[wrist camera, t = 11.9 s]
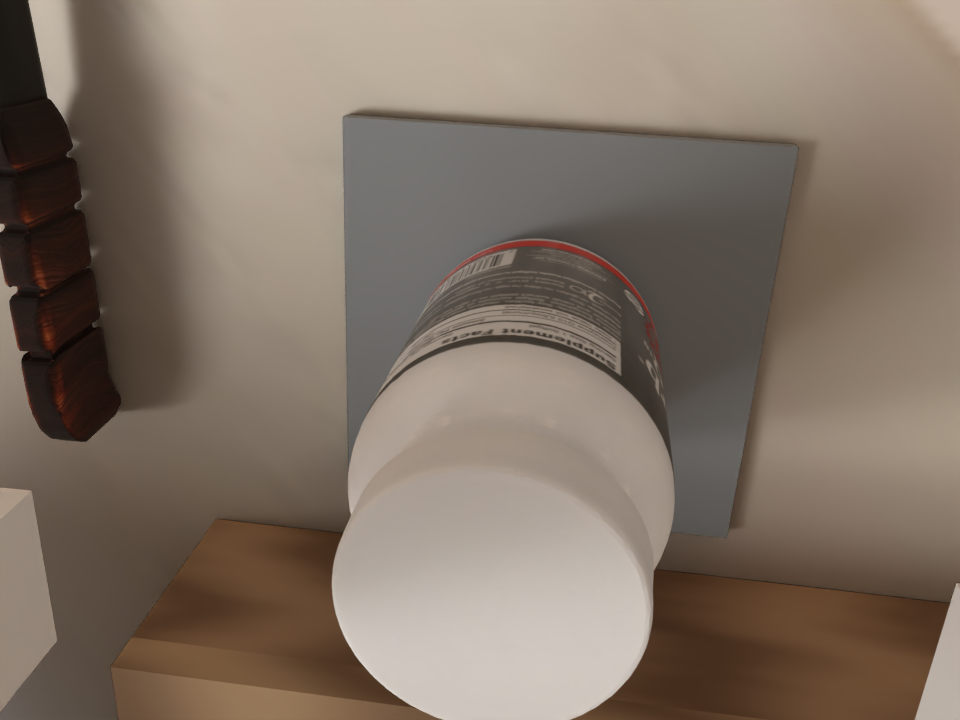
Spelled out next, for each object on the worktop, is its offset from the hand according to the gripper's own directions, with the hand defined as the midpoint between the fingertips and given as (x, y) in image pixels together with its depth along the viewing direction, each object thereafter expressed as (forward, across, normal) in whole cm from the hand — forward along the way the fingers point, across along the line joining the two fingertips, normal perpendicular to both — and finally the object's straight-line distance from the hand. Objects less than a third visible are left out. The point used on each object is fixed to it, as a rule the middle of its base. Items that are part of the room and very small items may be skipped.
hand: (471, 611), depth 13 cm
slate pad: (+10, +1, 0) cm, 10 cm away
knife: (+11, -11, +5) cm, 17 cm away
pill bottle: (+10, 0, 0) cm, 10 cm away
